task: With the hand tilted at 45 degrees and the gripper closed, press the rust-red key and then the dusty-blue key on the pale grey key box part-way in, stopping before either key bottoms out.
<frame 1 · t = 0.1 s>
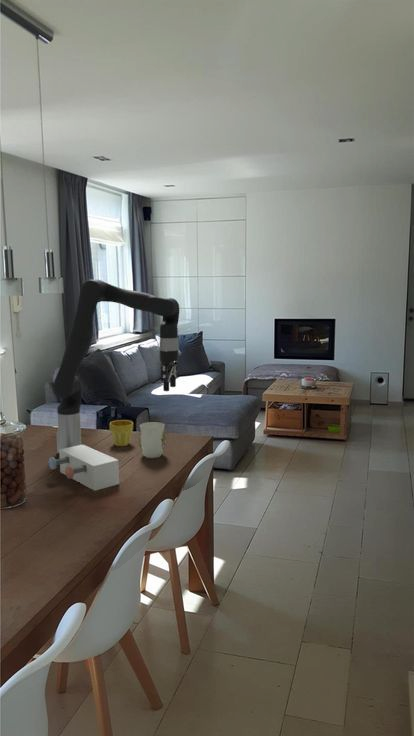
hand: (169, 389, 231), 29 cm above the table, tool pointing down, fingers open, 8 cm apart
key box: (88, 477, 215), on the table
plant pot: (122, 444, 258), on the table
red key: (79, 469, 204), point 7 cm above the table, slide at 0.0 cm
blue key: (62, 461, 214), point 7 cm above the table, slide at 0.0 cm
pitcher: (153, 455, 242), on the table
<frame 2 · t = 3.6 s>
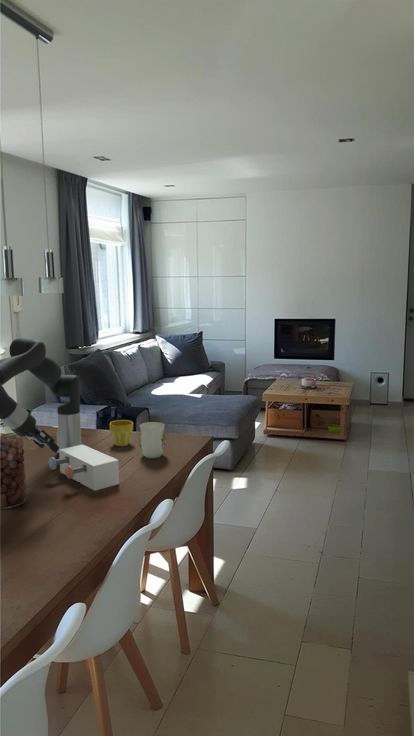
hand: (50, 448, 193), 17 cm above the table, tool tilted 40°, fingers open, 8 cm apart
nothing on the table moved.
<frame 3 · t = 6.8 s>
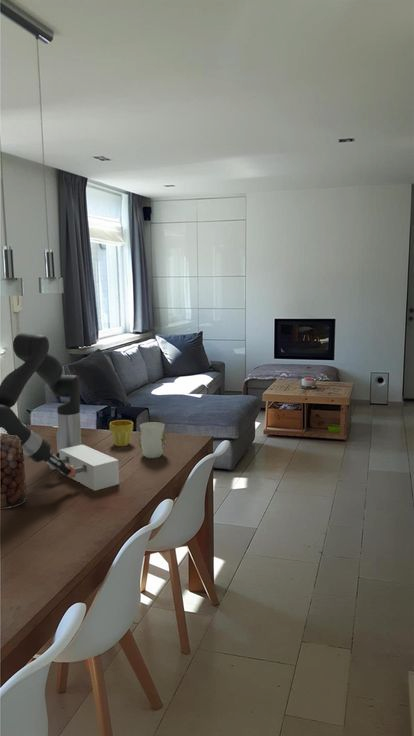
hand: (68, 472, 201), 6 cm above the table, tool tilted 45°, fingers closed
red key: (80, 469, 204), point 7 cm above the table, slide at 0.7 cm, touching gripper
everything else where it was.
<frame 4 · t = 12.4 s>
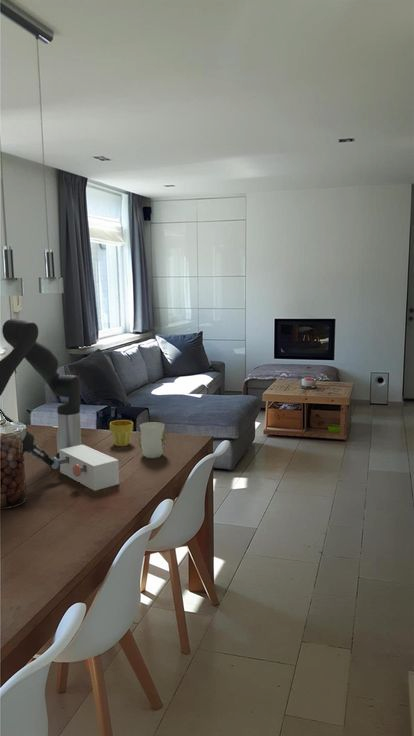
hand: (51, 463, 211), 6 cm above the table, tool tilted 45°, fingers closed
red key: (86, 467, 206), point 7 cm above the table, slide at 2.9 cm
blue key: (63, 460, 214), point 7 cm above the table, slide at 0.8 cm, touching gripper
everything else where it was.
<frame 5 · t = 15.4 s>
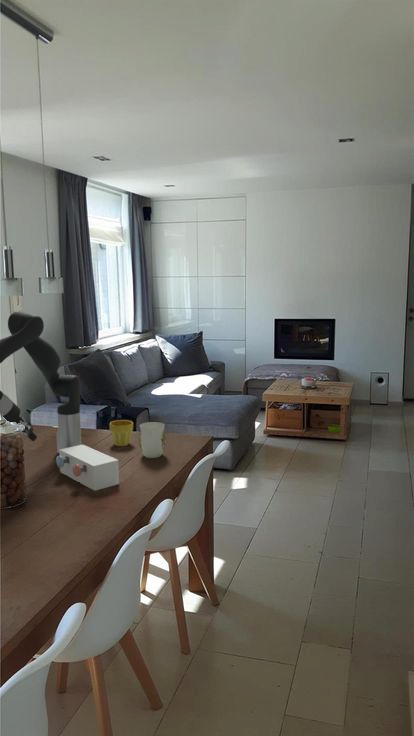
hand: (34, 438, 204), 17 cm above the table, tool tilted 40°, fingers closed
blue key: (69, 459, 216), point 7 cm above the table, slide at 3.0 cm
everything else where it was.
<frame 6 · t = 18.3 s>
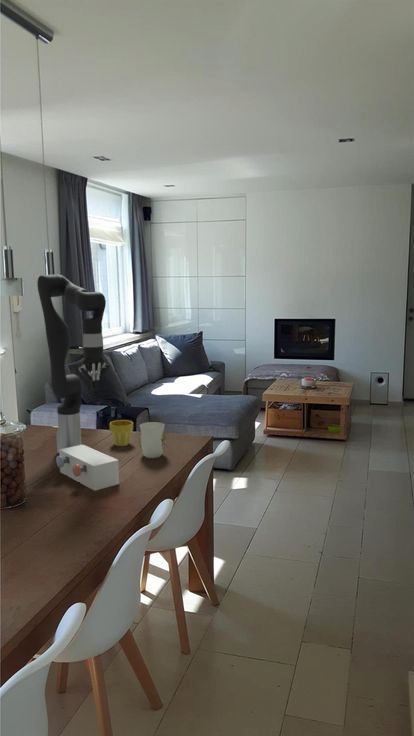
hand: (94, 389, 222), 31 cm above the table, tool pointing down, fingers closed
nothing on the table moved.
at the end: red key slide at 2.9 cm; blue key slide at 3.0 cm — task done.
